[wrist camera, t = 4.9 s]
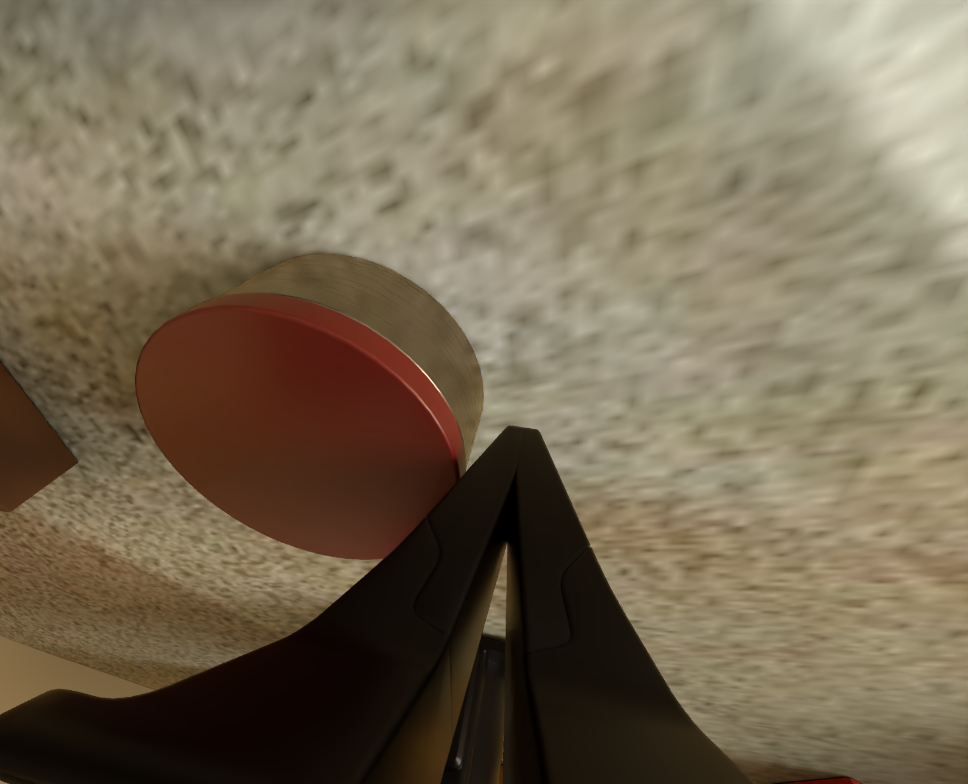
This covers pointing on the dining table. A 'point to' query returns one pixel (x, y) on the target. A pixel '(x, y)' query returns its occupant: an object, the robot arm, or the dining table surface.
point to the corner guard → (26, 447)
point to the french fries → (829, 781)
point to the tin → (316, 403)
